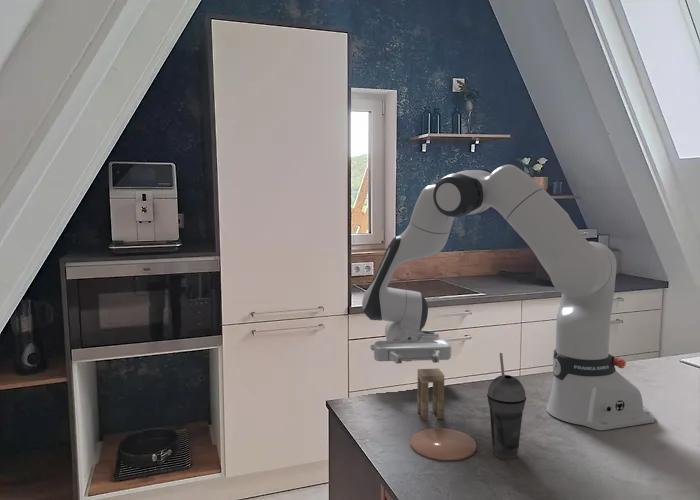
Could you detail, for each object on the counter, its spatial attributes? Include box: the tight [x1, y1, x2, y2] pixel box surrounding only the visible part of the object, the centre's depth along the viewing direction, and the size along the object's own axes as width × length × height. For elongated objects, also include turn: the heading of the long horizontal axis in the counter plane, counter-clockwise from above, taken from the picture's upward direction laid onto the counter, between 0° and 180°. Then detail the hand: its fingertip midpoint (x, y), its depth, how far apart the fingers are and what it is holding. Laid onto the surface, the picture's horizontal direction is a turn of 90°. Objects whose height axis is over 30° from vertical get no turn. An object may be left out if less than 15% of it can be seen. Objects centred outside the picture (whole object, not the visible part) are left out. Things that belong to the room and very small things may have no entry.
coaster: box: [410, 427, 477, 462], centre depth 110 cm, size 13×13×1 cm
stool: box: [416, 367, 445, 421], centre depth 124 cm, size 5×5×10 cm
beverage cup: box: [486, 352, 527, 460], centre depth 105 cm, size 7×7×20 cm
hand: (417, 360), depth 136 cm, fingers open, 8 cm apart
